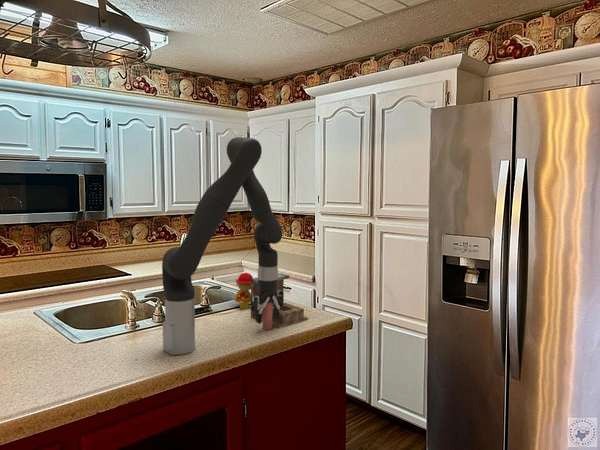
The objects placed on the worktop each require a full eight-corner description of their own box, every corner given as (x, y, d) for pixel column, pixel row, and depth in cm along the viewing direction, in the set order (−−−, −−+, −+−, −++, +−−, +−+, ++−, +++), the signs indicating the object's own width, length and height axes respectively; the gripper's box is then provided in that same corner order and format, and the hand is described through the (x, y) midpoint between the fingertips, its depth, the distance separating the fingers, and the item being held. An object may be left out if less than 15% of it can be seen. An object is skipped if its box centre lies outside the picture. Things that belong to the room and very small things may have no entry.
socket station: (277, 328, 166) (278, 287, 164) (250, 317, 178) (251, 278, 176) (308, 319, 177) (309, 280, 175) (280, 309, 189) (281, 273, 187)
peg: (266, 330, 163) (266, 304, 162) (260, 328, 165) (260, 302, 164) (273, 328, 165) (274, 302, 164) (267, 326, 168) (268, 300, 167)
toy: (254, 311, 186) (254, 276, 184) (232, 310, 186) (232, 275, 184) (257, 303, 197) (257, 270, 195) (236, 303, 197) (237, 269, 196)
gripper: (258, 282, 156) (258, 327, 157) (289, 276, 165) (288, 319, 167) (246, 278, 161) (245, 322, 163) (276, 273, 171) (275, 314, 173)
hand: (267, 320), depth 165 cm, fingers open, 7 cm apart
